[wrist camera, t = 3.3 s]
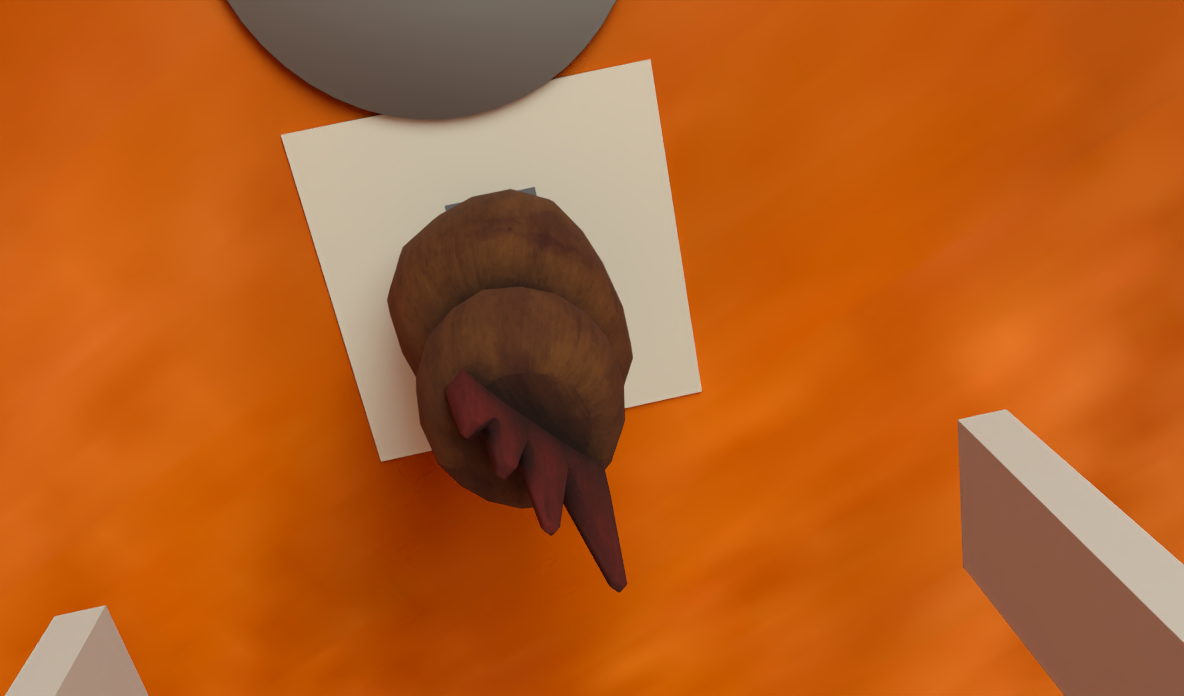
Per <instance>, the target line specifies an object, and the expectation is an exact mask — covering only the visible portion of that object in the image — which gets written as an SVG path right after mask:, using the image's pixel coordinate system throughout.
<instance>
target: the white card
mask: <svg viewBox="0 0 1184 696" xmlns="http://www.w3.org/2000/svg"><path fill="white" fill-rule="evenodd" d="M281 138H282V141H283V144H284V147H285V151H286V154H287V157H288V160H289V164H290V167H291V170H292V173H293V177H294V180H295V183H296V186H297V190H298V193H299V196H300V199H301V203H302V206H303V209H304V212H305V216H306V219H307V222H308V225H309V229H310V232H311V235H312V239H313V242H314V245H315V248H316V252H317V255H318V258H319V261H320V265H321V268H322V271H323V274H324V278H325V281H326V284H327V287H328V291H329V294H330V297H331V300H332V304H333V307H334V310H335V313H336V317H337V320H338V323H339V326H340V330H341V333H342V336H343V339H344V343H345V346H346V349H347V353H348V356H349V359H350V362H351V366H352V369H353V372H354V375H355V379H356V382H357V385H358V388H359V392H360V395H361V398H362V401H363V405H364V408H365V411H366V414H367V418H368V421H369V424H370V427H371V431H372V434H373V437H374V440H375V444H376V447H377V450H378V454H379V457H380V460H381V462H382V461H386V460H391V459H395V458H400V457H404V456H409V455H414V454H418V453H423V452H427V451H432V449H431V447H430V445H429V442H428V440H427V438H426V436H425V434H424V432H423V429H422V427H421V425H420V419H419V411H418V403H417V394H416V377H415V375H414V373H413V371H412V369H411V368H410V366H409V364H408V362H407V361H406V359H405V357H404V355H403V353H402V351H401V348H400V344H399V341H398V338H397V335H396V332H395V329H394V326H393V322H392V319H391V316H390V312H389V308H388V303H387V298H388V294H389V290H390V286H391V283H392V280H393V276H394V273H395V270H396V267H397V263H398V260H399V256H400V253H401V250H402V247H403V246H404V245H406V244H407V243H408V242H409V241H410V240H411V239H412V238H413V237H414V236H416V235H417V234H418V233H419V232H420V231H421V230H422V229H423V228H424V227H426V226H427V225H428V224H429V223H430V222H431V221H432V220H433V219H435V218H436V217H437V216H438V215H440V214H442V213H444V212H445V211H447V210H449V209H451V208H453V207H454V206H456V205H458V204H460V203H461V202H463V201H465V200H467V199H469V198H470V197H473V196H478V195H483V194H488V193H493V192H498V191H503V190H508V189H513V190H517V191H520V192H524V193H528V194H531V195H535V196H539V197H542V198H546V199H549V200H551V201H554V202H555V203H556V204H557V205H558V206H559V207H560V208H561V209H562V210H563V211H564V212H565V213H566V214H567V215H568V216H569V218H570V219H571V220H572V221H573V222H574V223H575V224H576V225H577V226H578V227H579V228H580V229H581V230H582V231H583V232H584V234H585V236H586V237H587V239H588V240H589V242H590V243H591V245H592V246H593V248H594V250H595V251H596V253H597V254H598V256H599V257H600V259H601V260H602V262H603V264H604V266H605V269H606V271H607V273H608V275H609V277H610V279H611V282H612V284H613V286H614V288H615V290H616V292H617V295H618V297H619V299H620V301H621V303H622V306H623V309H624V314H625V318H626V323H627V327H628V332H629V337H630V341H631V347H632V354H633V360H632V363H631V366H630V369H629V372H628V375H627V379H626V382H625V385H624V402H625V408H628V407H633V406H638V405H642V404H647V403H651V402H656V401H660V400H665V399H669V398H674V397H679V396H683V395H688V394H692V393H697V392H701V391H702V390H701V383H700V377H699V370H698V364H697V357H696V351H695V344H694V338H693V331H692V325H691V319H690V312H689V306H688V299H687V293H686V286H685V280H684V273H683V267H682V260H681V254H680V247H679V241H678V234H677V228H676V222H675V215H674V209H673V202H672V196H671V189H670V183H669V176H668V170H667V163H666V157H665V150H664V144H663V138H662V131H661V125H660V118H659V112H658V105H657V99H656V92H655V86H654V79H653V73H652V66H651V60H650V59H649V60H644V61H639V62H634V63H629V64H624V65H619V66H614V67H610V68H605V69H600V70H595V71H590V72H585V73H580V74H575V75H571V76H566V77H561V78H556V79H551V80H549V81H548V82H547V83H546V84H544V85H543V86H541V87H539V88H538V89H536V90H534V91H533V92H531V93H529V94H528V95H526V96H524V97H523V98H521V99H518V100H516V101H513V102H511V103H509V104H506V105H504V106H502V107H499V108H497V109H494V110H490V111H486V112H483V113H479V114H476V115H472V116H466V117H458V118H451V119H437V120H416V119H408V118H400V117H392V116H387V115H383V114H380V115H376V116H371V117H366V118H361V119H356V120H351V121H346V122H341V123H337V124H332V125H327V126H322V127H317V128H312V129H307V130H302V131H298V132H293V133H288V134H283V135H281Z"/></svg>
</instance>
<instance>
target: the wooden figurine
mask: <svg viewBox="0 0 1184 696" xmlns="http://www.w3.org/2000/svg"><path fill="white" fill-rule="evenodd" d="M387 303H388V308H389V312H390V316H391V319H392V322H393V326H394V329H395V332H396V335H397V338H398V341H399V344H400V348H401V351H402V353H403V355H404V357H405V359H406V361H407V362H408V364H409V366H410V368H411V369H412V371H413V373H414V375H415V377H416V394H417V403H418V411H419V419H420V425H421V427H422V429H423V432H424V434H425V436H426V438H427V440H428V442H429V445H430V447H431V449H432V451H433V453H434V455H435V458H436V460H437V462H438V464H439V465H440V466H441V467H442V468H443V469H444V470H445V471H446V472H447V473H448V474H449V475H450V476H451V477H452V478H453V479H455V480H456V481H457V482H458V483H459V484H460V485H461V486H463V487H464V488H466V489H468V490H470V491H471V492H473V493H475V494H477V495H479V496H480V497H482V498H484V499H486V500H487V501H490V502H495V503H499V504H503V505H508V506H512V507H517V508H521V509H522V508H531V507H533V508H534V510H535V513H536V516H537V518H538V521H539V524H540V526H541V528H542V529H543V530H544V531H545V532H546V533H548V534H549V535H551V536H552V535H553V534H554V533H555V532H556V531H557V530H558V529H559V528H560V521H561V514H562V507H563V504H564V505H565V507H566V509H567V511H568V513H569V514H570V516H571V518H572V520H573V522H574V523H575V525H576V527H577V529H578V531H579V532H580V534H581V536H582V538H583V540H584V541H585V543H586V545H587V547H588V549H589V550H590V552H591V554H592V556H593V558H594V559H595V561H596V563H597V565H598V567H599V568H600V570H601V572H602V574H603V576H604V577H605V579H606V581H607V583H608V584H609V586H610V587H611V588H613V589H614V590H616V591H617V592H621V591H622V590H623V588H624V587H625V586H626V585H627V581H626V575H625V570H624V565H623V559H622V554H621V549H620V543H619V538H618V533H617V527H616V522H615V517H614V511H613V506H612V501H611V495H610V491H609V486H608V482H607V478H606V473H605V469H606V468H607V466H608V465H609V464H610V463H611V461H612V458H613V455H614V452H615V449H616V446H617V443H618V440H619V437H620V434H621V431H622V428H623V425H624V421H625V402H624V385H625V382H626V379H627V375H628V372H629V369H630V366H631V363H632V360H633V354H632V347H631V341H630V337H629V332H628V327H627V323H626V318H625V314H624V309H623V306H622V303H621V301H620V299H619V297H618V295H617V292H616V290H615V288H614V286H613V284H612V282H611V279H610V277H609V275H608V273H607V271H606V269H605V266H604V264H603V262H602V260H601V259H600V257H599V256H598V254H597V253H596V251H595V250H594V248H593V246H592V245H591V243H590V242H589V240H588V239H587V237H586V236H585V234H584V232H583V231H582V230H581V229H580V228H579V227H578V226H577V225H576V224H575V223H574V222H573V221H572V220H571V219H570V218H569V216H568V215H567V214H566V213H565V212H564V211H563V210H562V209H561V208H560V207H559V206H558V205H557V204H556V203H555V202H554V201H551V200H549V199H546V198H542V197H539V196H535V195H531V194H528V193H524V192H520V191H517V190H513V189H508V190H503V191H498V192H493V193H488V194H483V195H478V196H473V197H470V198H469V199H467V200H465V201H463V202H461V203H460V204H458V205H456V206H454V207H453V208H451V209H449V210H447V211H445V212H444V213H442V214H440V215H438V216H437V217H436V218H435V219H433V220H432V221H431V222H430V223H429V224H428V225H427V226H426V227H424V228H423V229H422V230H421V231H420V232H419V233H418V234H417V235H416V236H414V237H413V238H412V239H411V240H410V241H409V242H408V243H407V244H406V245H404V246H403V247H402V250H401V253H400V256H399V260H398V263H397V267H396V270H395V273H394V276H393V280H392V283H391V286H390V290H389V294H388V298H387Z"/></svg>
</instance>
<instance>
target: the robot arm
mask: <svg viewBox="0 0 1184 696" xmlns="http://www.w3.org/2000/svg"><path fill="white" fill-rule="evenodd" d="M958 441H959V468H960V496H961V523H962V551H963V567H964V568H965V569H966V571H967V572H968V573H969V575H970V576H971V577H972V578H973V580H974V581H975V582H976V583H977V585H978V586H979V587H980V589H981V590H982V591H983V592H984V594H985V595H986V596H987V597H988V599H989V600H990V601H991V603H992V604H993V605H994V606H995V608H996V609H997V610H998V612H999V613H1000V614H1001V615H1002V617H1003V618H1004V619H1005V620H1006V622H1007V623H1008V624H1009V626H1010V627H1011V628H1012V629H1013V631H1014V632H1015V633H1016V634H1017V636H1018V637H1019V638H1020V640H1021V641H1022V642H1023V643H1024V645H1025V646H1026V647H1027V649H1028V650H1029V651H1030V652H1031V654H1032V655H1033V656H1034V657H1035V659H1036V660H1037V661H1038V663H1039V664H1040V665H1041V666H1042V668H1043V669H1044V670H1045V671H1046V673H1047V674H1048V675H1049V677H1050V678H1051V679H1052V680H1053V682H1054V683H1055V684H1056V686H1057V687H1058V688H1059V689H1060V691H1061V692H1062V693H1063V694H1064V696H1184V565H1183V564H1182V563H1181V562H1180V561H1179V560H1178V559H1176V558H1175V557H1174V556H1173V555H1172V554H1171V553H1170V552H1168V551H1167V550H1166V549H1165V548H1164V547H1163V546H1162V545H1160V544H1159V543H1158V542H1157V541H1156V540H1155V539H1154V538H1152V537H1151V536H1150V535H1149V534H1148V533H1147V532H1146V531H1144V530H1143V529H1142V528H1141V527H1140V526H1139V525H1138V524H1136V523H1135V522H1134V521H1133V520H1132V519H1131V518H1130V517H1128V516H1127V515H1126V514H1125V513H1124V512H1123V511H1122V510H1120V509H1119V508H1118V507H1117V506H1116V505H1115V504H1114V503H1112V502H1111V501H1110V500H1109V499H1108V498H1107V497H1106V496H1104V495H1103V494H1102V493H1101V492H1100V491H1099V490H1098V489H1097V488H1095V487H1094V486H1093V485H1092V484H1091V483H1090V482H1089V481H1087V480H1086V479H1085V478H1084V477H1083V476H1082V475H1081V474H1079V473H1078V472H1077V471H1076V470H1075V469H1074V468H1073V467H1071V466H1070V465H1069V464H1068V463H1067V462H1066V461H1065V460H1063V459H1062V458H1061V457H1060V456H1059V455H1058V454H1057V453H1055V452H1054V451H1053V450H1052V449H1051V448H1050V447H1049V446H1047V445H1046V444H1045V443H1044V442H1043V441H1042V440H1041V439H1039V438H1038V437H1037V436H1036V435H1035V434H1034V433H1033V432H1031V431H1030V430H1029V429H1028V428H1027V427H1026V426H1025V425H1023V424H1022V423H1021V422H1020V421H1019V420H1018V419H1017V418H1015V417H1014V416H1013V415H1012V414H1011V413H1010V412H1009V411H1007V410H1006V409H1005V410H1000V411H996V412H991V413H986V414H982V415H977V416H973V417H968V418H964V419H959V420H958ZM5 696H148V694H147V692H146V689H145V687H144V685H143V683H142V681H141V679H140V677H139V675H138V672H137V670H136V668H135V666H134V664H133V662H132V660H131V658H130V656H129V653H128V651H127V649H126V647H125V645H124V643H123V641H122V639H121V636H120V634H119V632H118V630H117V628H116V626H115V624H114V622H113V619H112V617H111V615H110V613H109V611H108V609H107V607H106V605H105V606H100V607H96V608H91V609H86V610H82V611H77V612H73V613H68V614H63V615H59V616H55V617H54V618H53V620H52V621H51V623H50V625H49V626H48V628H47V629H46V631H45V633H44V634H43V636H42V637H41V639H40V641H39V642H38V644H37V645H36V647H35V649H34V650H33V652H32V653H31V655H30V656H29V658H28V660H27V661H26V663H25V664H24V666H23V668H22V669H21V671H20V672H19V674H18V676H17V677H16V679H15V680H14V682H13V684H12V685H11V687H10V688H9V690H8V692H7V693H6V695H5Z"/></svg>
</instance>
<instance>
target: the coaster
mask: <svg viewBox="0 0 1184 696" xmlns="http://www.w3.org/2000/svg"><path fill="white" fill-rule="evenodd" d="M227 1H228V2H229V4H230V5H231V7H232V8H233V10H234V11H235V13H236V14H237V16H238V17H239V19H240V20H241V22H242V23H243V24H244V25H245V26H246V27H247V29H248V30H249V31H250V32H251V33H252V34H253V36H254V37H255V38H256V39H257V40H258V41H259V43H260V44H261V45H262V46H263V47H264V48H265V49H266V50H267V51H269V52H270V53H271V54H272V55H273V56H274V57H275V58H276V59H277V60H278V61H279V62H281V63H282V64H283V65H284V66H285V67H286V68H288V69H289V70H290V71H292V72H293V73H295V74H296V75H297V76H299V77H300V78H302V79H303V80H304V81H306V82H307V83H309V84H310V85H312V86H314V87H316V88H317V89H319V90H321V91H323V92H325V93H326V94H328V95H330V96H332V97H334V98H336V99H338V100H341V101H343V102H346V103H348V104H351V105H353V106H356V107H358V108H361V109H364V110H368V111H372V112H375V113H379V114H383V115H387V116H392V117H400V118H408V119H416V120H437V119H451V118H458V117H466V116H472V115H476V114H479V113H483V112H486V111H490V110H494V109H497V108H499V107H502V106H504V105H506V104H509V103H511V102H513V101H516V100H518V99H521V98H523V97H524V96H526V95H528V94H529V93H531V92H533V91H534V90H536V89H538V88H539V87H541V86H543V85H544V84H546V83H547V82H548V81H549V80H551V79H552V78H553V77H555V76H556V75H557V74H558V73H560V72H561V71H562V70H563V69H565V68H566V67H567V66H568V65H569V64H570V63H571V62H572V61H573V60H574V59H575V58H576V57H577V56H578V55H579V54H580V52H581V51H582V50H583V49H584V48H585V47H586V46H587V45H588V43H589V42H590V41H591V39H592V38H593V37H594V35H595V34H596V33H597V31H598V30H599V29H600V27H601V26H602V24H603V23H604V21H605V19H606V17H607V16H608V14H609V12H610V10H611V8H612V7H613V5H614V3H615V1H616V0H227Z"/></svg>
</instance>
